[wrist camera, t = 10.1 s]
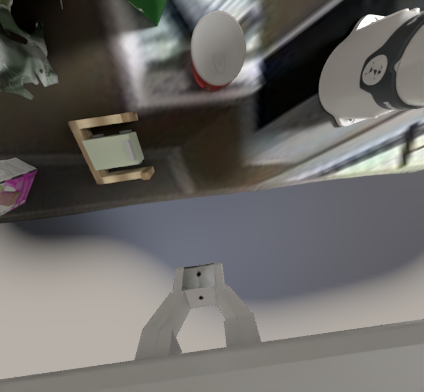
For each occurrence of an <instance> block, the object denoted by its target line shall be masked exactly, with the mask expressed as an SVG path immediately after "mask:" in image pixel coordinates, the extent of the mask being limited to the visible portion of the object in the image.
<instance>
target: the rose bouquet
mask: <svg viewBox="0 0 424 392" xmlns="http://www.w3.org/2000/svg"><path fill="white" fill-rule="evenodd" d="M60 2H61V6H62V0H60ZM12 4H13V0H0V26H1V27H2V28H3V30H4V32H5V33H6V34H7V35H8V36H10V31H12V32H14V33H16V34H17V35H18V36H23V37H24V38H26V39H27V40H28V42H27V44H26V45H25V44H22V43H19V42H15V41H13V40H11V39H8V38H7V37H6V36H4V35H3V34H2V33H1V32H0V92H7V93H15V94H19V95H21V96H24V97H26V98H28V99H30V100H32V98H34V96H33V95H32V94H30V92H28V91H27V90H25V89H24V88H23V85H24V83H31V82H32V83H34V84H36V85H37V84H38V81H37V79H36V76H35V74H34V72H36V73H37V74H38V76H39V78H40V80H41V82H42V83H43V85H44V87H46V86H47V85H48V86H49V85H52V84H54V83H58V76H57V74H55V73H54V72H53V70H52V68H51V65H50V63H49V61H48V59H47V54H48V53H47V48H46V44H45V41H44V26H45V25H44V23H43V22H42V21H41V20H37V22H36V29H35V32H34V33H32V34H28V33H26V32H25V31H24V30H22V29H19V28H18V26H17V25H16V24H15V22H14V20H13V18H12V15H11V12H10V10H11V8H10V6H11V5H12ZM62 9H63V7H62ZM42 25H43V29H42V30H41V28H42ZM40 69H43V73H40V72H39V70H40Z"/></svg>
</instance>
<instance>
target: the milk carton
mask: <svg viewBox="0 0 424 392" xmlns="http://www.w3.org/2000/svg"><path fill="white" fill-rule="evenodd" d="M126 1H127V2H129V3H130V4H131V5H132V6H134V7H135V8H136V9H137V10H138V11H140V12H141V13H142V14H143V15H144V16H146V17H147V18H148V19H149V20H151V21H152V22H153V23H154V24H155V25H158V23H159V20H160V18H161V15H162V13H163V10H164V8H165V5H166V2H167V0H126Z"/></svg>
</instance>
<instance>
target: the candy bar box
mask: <svg viewBox="0 0 424 392" xmlns="http://www.w3.org/2000/svg"><path fill="white" fill-rule="evenodd" d="M37 170H38V169H37V168H36V167H34V166H32V165H30V164H27V163H25V162H24V161H22V160H20V159H18V158H16V157H13V158H9V159H5V160H1V161H0V216H2V215H4V214H6V213H7V212H9V211H11V210H13V209H15V208H17V207H19V206H20V205H22V204H24V203H25V202H26V199H27V197H28V194H29V191H30V189H31V186H32V183H33V181H34V178H35V176H36V173H37Z"/></svg>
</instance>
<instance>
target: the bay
mask: <svg viewBox="0 0 424 392" xmlns="http://www.w3.org/2000/svg"><path fill="white" fill-rule="evenodd" d="M137 120H139V118H138V114H137V112H128V113H121V114H117V115H110V116H103V117H96V118H89V119H82V120H75V121H68V124H69V126H70V128H71V130H72V132H73V134H74V137H75V139H76V141H77V143H78V145H79V147H80V149H81V151H82V153H83V155H84V157H85V159H86V161H87V164H88V166H89V168H90V170H91V172H92V174H93V176H94V178H95V180H96V182H97V184H98V185H100V184H106V183H113V182H119V181H126V180H133V179H139V178H142V180H147V179H150V178H151V176H152V175H153V173H154V172H155V171H154V168H153V166H148V167H141V168H134V169H128V170H121V171H115V172H109V171H108V169H107V170H106V169H103V170H95V168H94V166H93V164H92V162H91V160H90V158H89V155H88V153H87V151H86V149H85V147H84V145H83V143H82V141H84V140H88V139H91V135H93V134H92V132H91V130H90V127H96V126H103V125H110V124H117V123H124V122H131V121H137Z"/></svg>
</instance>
